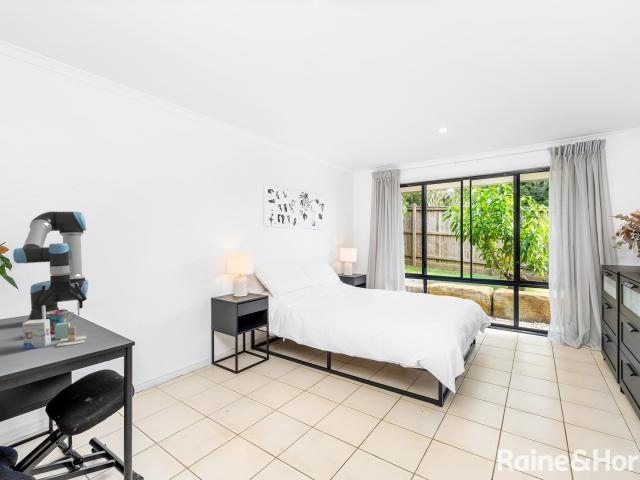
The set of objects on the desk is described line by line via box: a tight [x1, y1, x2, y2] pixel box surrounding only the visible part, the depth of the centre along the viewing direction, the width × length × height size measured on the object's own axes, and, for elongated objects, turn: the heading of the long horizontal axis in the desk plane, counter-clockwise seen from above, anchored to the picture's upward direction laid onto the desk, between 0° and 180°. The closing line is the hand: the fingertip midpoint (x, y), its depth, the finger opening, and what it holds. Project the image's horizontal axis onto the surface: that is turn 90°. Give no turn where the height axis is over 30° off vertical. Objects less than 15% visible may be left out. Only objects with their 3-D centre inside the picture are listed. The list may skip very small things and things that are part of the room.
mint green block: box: [54, 321, 71, 341], centre depth 157 cm, size 5×5×7 cm
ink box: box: [22, 319, 52, 350], centre depth 145 cm, size 9×5×12 cm, turn 106°
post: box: [55, 325, 88, 348], centre depth 150 cm, size 12×10×7 cm
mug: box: [46, 308, 75, 334], centre depth 166 cm, size 12×9×11 cm
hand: (62, 317), depth 156 cm, fingers open, 13 cm apart
